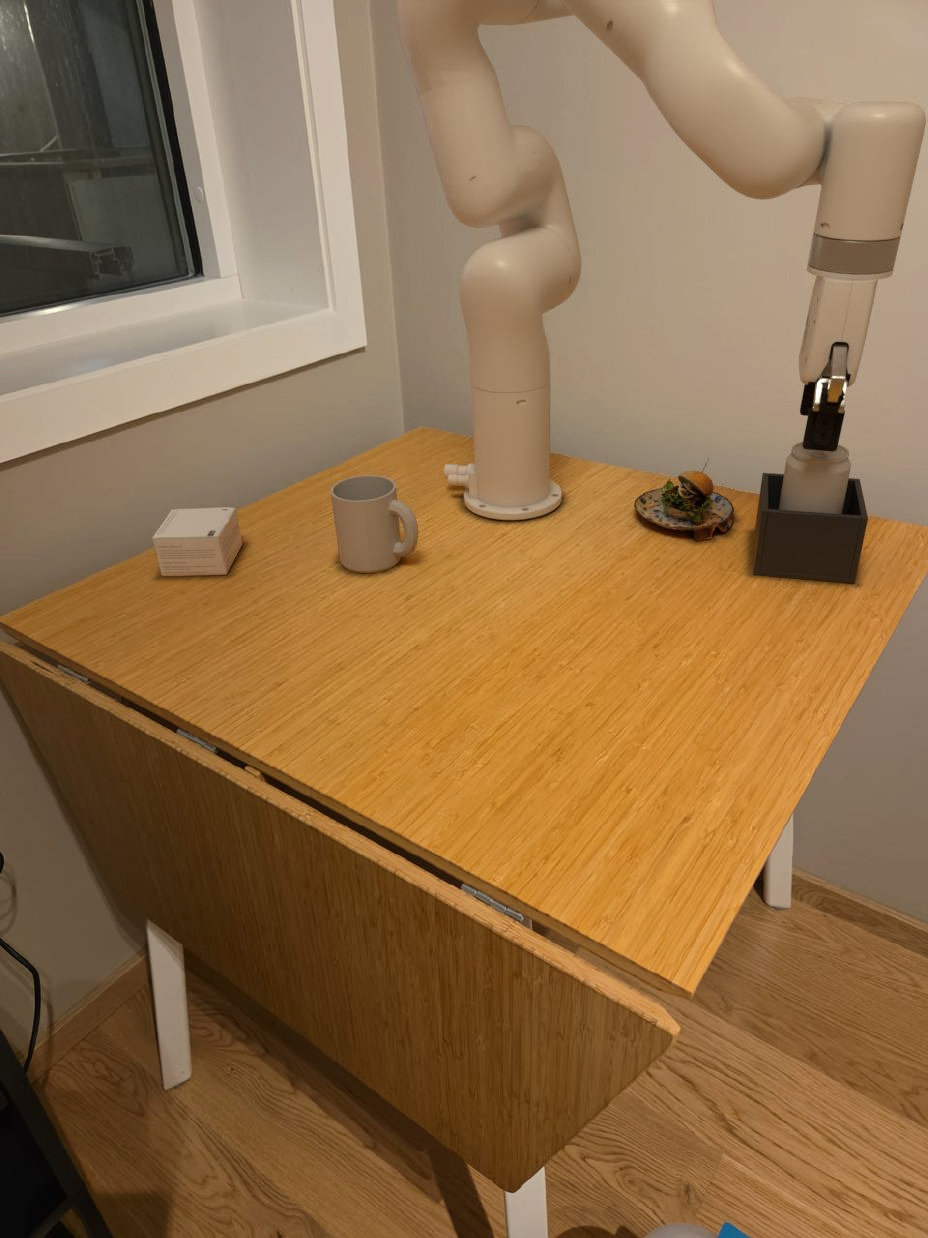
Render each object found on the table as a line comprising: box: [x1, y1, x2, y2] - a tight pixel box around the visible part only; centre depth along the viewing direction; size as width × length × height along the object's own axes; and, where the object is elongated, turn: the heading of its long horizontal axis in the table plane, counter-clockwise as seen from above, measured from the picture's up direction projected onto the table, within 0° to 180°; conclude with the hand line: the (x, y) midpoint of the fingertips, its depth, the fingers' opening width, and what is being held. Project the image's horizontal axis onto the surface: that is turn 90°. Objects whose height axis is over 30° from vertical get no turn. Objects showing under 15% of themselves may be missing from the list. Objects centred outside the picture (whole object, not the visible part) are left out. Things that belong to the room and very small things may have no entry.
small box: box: [151, 506, 243, 577], centre depth 105 cm, size 8×8×5 cm
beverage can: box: [779, 441, 852, 514], centre depth 97 cm, size 6×6×12 cm
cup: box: [330, 474, 419, 574], centre depth 101 cm, size 7×10×9 cm
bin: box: [752, 472, 869, 585], centre depth 98 cm, size 10×10×8 cm
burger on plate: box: [633, 458, 735, 542], centre depth 108 cm, size 12×12×8 cm
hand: (816, 431), depth 93 cm, fingers open, 9 cm apart
